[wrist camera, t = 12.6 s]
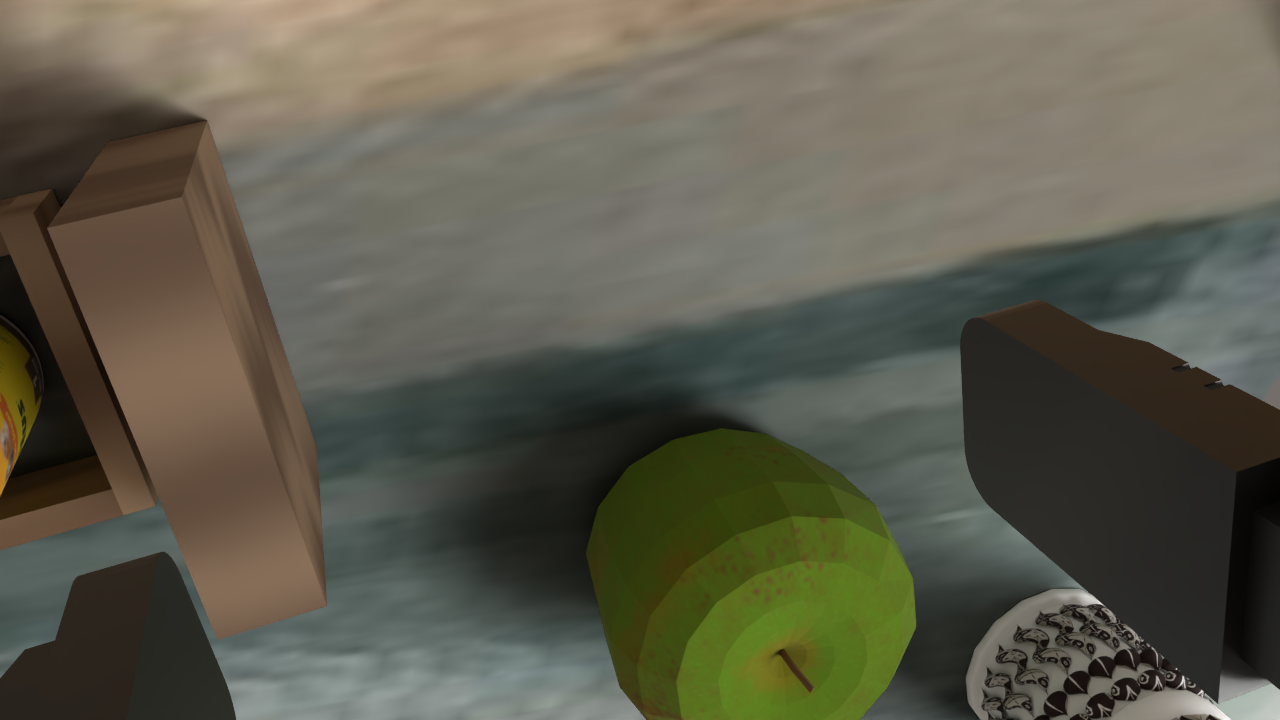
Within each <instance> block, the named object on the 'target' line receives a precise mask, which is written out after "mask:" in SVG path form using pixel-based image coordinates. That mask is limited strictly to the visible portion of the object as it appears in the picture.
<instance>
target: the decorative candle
mask: <svg viewBox="0 0 1280 720" xmlns="http://www.w3.org/2000/svg"><path fill="white" fill-rule="evenodd" d="M965 678H966V689H967V699H968V703H969V705H970V706H971V708H972V709H973V710H974V712H975V713H976V714H977V716H978V717H979V718H980V720H1231V719H1229V718H1228V717H1227V716H1226V715H1225V714H1224V713H1223V712H1221V711H1220V710H1219V709H1218V708H1217V707H1216V706H1214V704H1213V702H1212V701H1211V700H1210V699H1209V698H1207V697H1205V696H1204V694H1205V692H1204V691H1202V690H1201V689H1200V688H1199V687H1198V686H1197V685H1196V684H1194V683H1193V682H1192V681H1191V680H1190V679H1189V680H1188V679H1187V677H1186V676H1185V675H1184V674H1183V673H1182V672H1180V671H1179V670H1178V669H1177V668H1176V667H1175V666H1174V665H1172V664H1171V663H1170V662H1169V661H1168V660H1167V659H1162V657H1161V655H1160V654H1159V653H1158V652H1157V651H1156V650H1154V648H1153V647H1152V646H1150V645H1149V644H1148V643H1147V642H1146V641H1145V640H1143V639H1142V638H1141V637H1140V636H1139V635H1138V634H1136V633H1135V632H1134V631H1133V630H1132V629H1131V628H1130V627H1128V626H1127V625H1126V624H1125V623H1124V622H1123V621H1121V620H1120V619H1119V618H1118V617H1117V616H1116V615H1114V614H1113V613H1112V612H1111V611H1110V610H1109V609H1108V608H1106V607H1105V606H1104V605H1103V604H1102V603H1101V602H1099V601H1098V600H1097V599H1096V598H1095V597H1094V596H1093V595H1091V594H1089V593H1087V592H1085V591H1083V590H1081V589H1050V590H1048V591H1045V592H1043V593H1040V594H1037V595H1035V596H1032V597H1030V598H1027V599H1025V600H1022V601H1021V602H1019V603H1018V604H1017V605H1015V606H1014V607H1013V608H1012V609H1010V610H1009V611H1008V612H1006V613H1005V614H1004V615H1003V616H1001V617H1000V618H999V619H997V620H996V621H995V622H994V623H993V625H992V626H991V627H990V629H989V630H988V631H987V633H986V634H985V635H984V637H983V638H982V640H981V641H980V642H979V644H978V645H977V646H976V648H975V649H974V653H973V656H972V659H971V662H970V665H969V668H968V671H967V674H966V677H965Z"/></svg>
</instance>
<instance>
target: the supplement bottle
mask: <svg viewBox="0 0 1280 720" xmlns="http://www.w3.org/2000/svg"><path fill="white" fill-rule="evenodd" d="M43 391H44V380H43V372H42V367H41V364H40V361H39V358H38V355H37V353H36V351H35V349H34V347H33V346H32V344H31V343H30V341H29V340H28V339H27V338H26V336H25V335H24V334H23V333H22V332H21V331H20V330H19V329H18V328H17V327H16V326H15V325H14V324H13V323H11V322H10V321H9V320H7V319H6V318H5V317H3V316H2V315H0V496H1V493H2V491H3V489H4V487H5V485H6V482H7V480H8V478H9V476H10V474H11V472H12V469H13V467H14V465H15V463H16V461H17V459H18V456H19V454H20V452H21V450H22V448H23V446H24V443H25V441H26V439H27V437H28V435H29V432H30V430H31V428H32V426H33V423H34V421H35V419H36V417H37V414H38V411H39V409H40V406H41V402H42V398H43Z"/></svg>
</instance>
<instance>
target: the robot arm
mask: <svg viewBox="0 0 1280 720" xmlns="http://www.w3.org/2000/svg"><path fill="white" fill-rule="evenodd" d="M960 350H961V373H962V396H963V419H964V442H965V455H966V460H967V465H968V468H969V472H970V474H971V477H972V479H973V482H974V484H975V486H976V488H977V490H978V492H979V493H980V495H981V496H982V498H983V499H984V500H985V502H986V503H987V504H988V505H989V506H990V507H991V508H992V509H993V510H994V511H995V512H996V513H998V514H999V515H1000V516H1001V517H1002V518H1003V519H1005V520H1006V521H1007V522H1008V523H1009V524H1010V525H1011V526H1013V527H1014V528H1015V529H1016V530H1017V531H1018V532H1020V533H1021V534H1022V535H1023V536H1024V537H1025V538H1027V539H1028V540H1029V541H1030V542H1031V543H1032V544H1033V545H1035V546H1036V547H1037V548H1038V549H1039V550H1040V551H1042V552H1043V553H1044V554H1045V555H1046V556H1047V557H1049V558H1050V559H1051V560H1052V561H1053V562H1054V563H1055V564H1057V565H1058V566H1059V567H1060V568H1061V569H1062V570H1064V571H1065V572H1066V573H1067V574H1068V575H1069V576H1071V577H1072V578H1073V579H1074V580H1075V581H1076V582H1077V583H1079V584H1080V585H1081V586H1082V587H1083V588H1084V589H1086V590H1087V591H1088V592H1089V593H1090V594H1091V595H1093V596H1094V597H1095V598H1096V599H1097V600H1098V601H1099V602H1101V603H1102V604H1103V605H1104V606H1105V607H1106V608H1108V609H1109V610H1110V611H1111V612H1112V613H1113V614H1114V615H1116V616H1117V617H1118V618H1119V619H1120V620H1121V621H1123V622H1124V623H1125V624H1126V625H1127V626H1128V627H1130V628H1131V629H1132V630H1133V631H1134V632H1135V633H1136V634H1138V635H1139V636H1140V637H1141V638H1142V639H1143V640H1145V641H1146V642H1147V643H1148V644H1149V645H1150V646H1152V647H1153V648H1154V649H1155V650H1156V651H1157V652H1158V653H1160V654H1161V655H1162V656H1163V657H1164V658H1165V659H1167V660H1168V661H1169V662H1170V663H1171V664H1172V665H1174V666H1175V667H1176V668H1177V669H1178V670H1179V671H1180V672H1182V673H1183V674H1184V675H1185V676H1186V677H1187V678H1189V679H1190V680H1191V681H1192V682H1193V683H1194V684H1196V685H1197V686H1198V687H1199V688H1200V689H1201V690H1202V691H1204V692H1205V693H1206V694H1207V695H1208V696H1209V697H1211V698H1212V699H1213V700H1214V701H1215V702H1216V703H1218V704H1220V703H1222V702H1225V701H1227V700H1230V699H1233V698H1235V697H1238V696H1240V695H1243V694H1246V693H1248V692H1251V691H1253V690H1256V689H1259V688H1261V687H1264V686H1266V685H1269V684H1271V683H1272V684H1273V685H1275V686H1276V687H1277V688H1278V689H1280V410H1279V409H1277V408H1275V407H1273V406H1271V405H1269V404H1267V403H1265V402H1263V401H1261V400H1260V399H1258V398H1256V397H1254V396H1252V395H1250V394H1248V393H1246V392H1244V391H1242V390H1240V389H1238V388H1236V387H1234V386H1232V385H1227V386H1224V385H1223V384H1222V380H1221V379H1219V378H1217V377H1215V376H1213V375H1211V374H1209V373H1207V372H1205V371H1203V370H1201V369H1199V368H1197V367H1195V368H1192V369H1191V368H1190V367H1189V363H1188V362H1186V361H1184V360H1182V359H1180V358H1178V357H1176V356H1174V355H1172V354H1170V353H1168V352H1166V351H1165V350H1163V349H1161V348H1159V347H1157V346H1155V345H1153V344H1151V343H1149V342H1145V341H1141V340H1137V339H1133V338H1129V337H1125V336H1121V335H1117V334H1112V333H1108V332H1104V331H1100V330H1097V329H1095V328H1094V327H1092V326H1090V325H1088V324H1086V323H1084V322H1082V321H1080V320H1079V319H1077V318H1075V317H1073V316H1071V315H1069V314H1067V313H1065V312H1063V311H1062V310H1060V309H1058V308H1056V307H1054V306H1052V305H1050V304H1048V303H1046V302H1044V301H1041V300H1034V301H1030V302H1026V303H1023V304H1019V305H1016V306H1013V307H1009V308H1006V309H1002V310H999V311H995V312H992V313H988V314H985V315H982V316H978V317H975V318H972V319H970V320H968V321H967V323H966V324H965V326H964V327H963V330H962V334H961V341H960ZM0 720H236V716H235V711H234V707H233V703H232V700H231V696H230V693H229V690H228V687H227V684H226V682H225V679H224V677H223V674H222V672H221V670H220V667H219V665H218V662H217V660H216V658H215V655H214V653H213V650H212V648H211V646H210V643H209V641H208V639H207V636H206V634H205V631H204V629H203V627H202V624H201V622H200V619H199V617H198V615H197V612H196V610H195V608H194V605H193V603H192V600H191V598H190V596H189V593H188V591H187V588H186V586H185V584H184V581H183V579H182V577H181V574H180V572H179V570H178V568H177V566H176V564H175V563H174V561H173V560H172V558H171V557H170V556H169V555H168V554H167V553H165V552H160V553H156V554H153V555H149V556H146V557H142V558H139V559H135V560H132V561H129V562H125V563H122V564H118V565H115V566H111V567H108V568H105V569H101V570H98V571H94V572H91V573H87V574H84V575H80V576H78V577H76V579H75V580H74V582H73V584H72V587H71V590H70V593H69V597H68V600H67V603H66V607H65V610H64V613H63V616H62V620H61V623H60V626H59V630H58V633H57V636H56V640H55V641H52V642H49V643H45V644H42V645H39V646H35V647H32V648H29V649H25V650H24V651H23V653H22V654H21V655H20V656H19V657H18V658H17V660H16V661H15V662H14V663H13V664H12V665H11V667H10V668H9V669H8V670H7V671H6V672H5V674H4V675H3V676H2V677H1V678H0Z"/></svg>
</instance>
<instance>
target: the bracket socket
mask: <svg viewBox="0 0 1280 720" xmlns="http://www.w3.org/2000/svg"><path fill="white" fill-rule="evenodd" d="M9 254H10V255H11V257H12V260H13V262H14V264H15V266H16V269H17V271H18V273H19V276H20V278H21V280H22V283H23V285H24V287H25V289H26V292H27V294H28V296H29V299H30V301H31V303H32V306H33V308H34V310H35V313H36V315H37V317H38V319H39V322H40V324H41V326H42V329H43V331H44V333H45V336H46V338H47V340H48V342H49V345H50V347H51V349H52V352H53V354H54V356H55V359H56V361H57V363H58V365H59V368H60V370H61V372H62V375H63V377H64V379H65V382H66V384H67V386H68V388H69V391H70V393H71V395H72V398H73V400H74V402H75V405H76V407H77V409H78V412H79V414H80V416H81V418H82V421H83V423H84V425H85V428H86V430H87V432H88V435H89V437H90V439H91V441H92V444H93V446H94V448H95V451H96V453H97V455H94V456H90V457H87V458H83V459H79V460H76V461H72V462H68V463H65V464H61V465H57V466H53V467H50V468H46V469H42V470H39V471H35V472H31V473H28V474H24V475H20V476H17V477H13V478H9V479H8V480H7V482H6V485H5V487H4V489H3V491H2V493H1V496H0V550H2V549H6V548H9V547H13V546H16V545H20V544H23V543H27V542H30V541H34V540H38V539H41V538H45V537H48V536H52V535H55V534H59V533H62V532H66V531H69V530H73V529H77V528H80V527H84V526H87V525H91V524H94V523H98V522H101V521H105V520H108V519H112V518H115V517H119V516H123V515H126V514H130V513H133V512H137V511H140V510H144V509H147V508H151V507H154V506H156V502H157V497H159V499H160V502H161V504H162V507H163V509H164V511H165V514H166V516H167V519H168V521H169V523H170V526H171V528H172V531H173V533H174V535H175V538H176V540H177V543H178V545H179V548H180V550H181V552H182V555H183V557H184V560H185V562H186V564H187V567H188V569H189V572H190V574H191V576H192V579H193V581H194V584H195V586H196V589H197V591H198V593H199V596H200V598H201V601H202V603H203V605H204V608H205V610H206V613H207V615H208V617H209V620H210V622H211V625H212V627H213V630H214V632H215V634H216V637H217V639H222V638H225V637H228V636H231V635H235V634H238V633H241V632H244V631H248V630H251V629H254V628H257V627H261V626H264V625H267V624H270V623H274V622H277V621H280V620H283V619H287V618H290V617H293V616H296V615H300V614H303V613H306V612H309V611H312V610H316V609H319V608H322V607H325V606H327V598H326V582H325V567H324V551H323V535H322V520H321V504H320V488H319V473H318V457H317V447H316V444H315V441H314V438H313V435H312V432H311V429H310V426H309V423H308V420H307V417H306V414H305V411H304V408H303V405H302V402H301V399H300V396H299V393H298V390H297V387H296V384H295V381H294V378H293V375H292V372H291V369H290V366H289V363H288V360H287V357H286V354H285V351H284V348H283V345H282V342H281V339H280V336H279V333H278V330H277V327H276V324H275V321H274V318H273V315H272V312H271V309H270V306H269V303H268V300H267V297H266V294H265V291H264V288H263V285H262V282H261V280H260V277H259V274H258V271H257V268H256V265H255V262H254V259H253V256H252V253H251V250H250V247H249V244H248V241H247V238H246V235H245V232H244V229H243V226H242V223H241V220H240V217H239V214H238V211H237V208H236V205H235V202H234V199H233V196H232V193H231V190H230V187H229V184H228V181H227V178H226V175H225V172H224V169H223V166H222V163H221V160H220V157H219V154H218V151H217V148H216V145H215V142H214V139H213V136H212V133H211V130H210V127H209V124H208V121H207V120H206V121H201V122H197V123H192V124H187V125H183V126H178V127H174V128H169V129H165V130H160V131H155V132H151V133H146V134H142V135H137V136H133V137H128V138H123V139H119V140H114V141H110V142H107V144H106V145H105V147H104V148H103V149H102V151H101V152H100V154H99V155H98V157H97V158H96V159H95V161H94V162H93V164H92V165H91V166H90V168H89V169H88V171H87V172H86V174H85V175H84V176H83V178H82V179H81V181H80V182H79V184H78V185H77V186H76V188H75V189H74V191H73V192H72V193H71V195H70V196H69V198H68V199H67V201H66V202H65V203H64V205H63V206H62V208H60V206H59V203H58V201H57V198H56V196H55V193H54V191H53V189H52V188H51V189H47V190H42V191H38V192H33V193H29V194H24V195H20V196H15V197H11V198H7V199H2V200H0V257H1V256H5V255H9Z"/></svg>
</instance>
